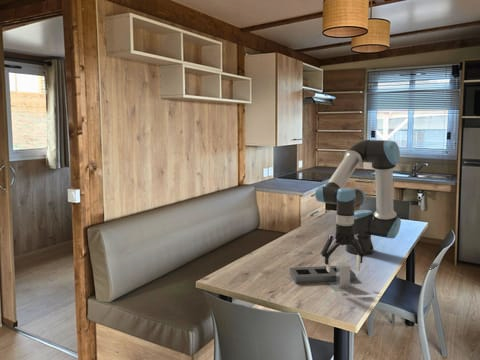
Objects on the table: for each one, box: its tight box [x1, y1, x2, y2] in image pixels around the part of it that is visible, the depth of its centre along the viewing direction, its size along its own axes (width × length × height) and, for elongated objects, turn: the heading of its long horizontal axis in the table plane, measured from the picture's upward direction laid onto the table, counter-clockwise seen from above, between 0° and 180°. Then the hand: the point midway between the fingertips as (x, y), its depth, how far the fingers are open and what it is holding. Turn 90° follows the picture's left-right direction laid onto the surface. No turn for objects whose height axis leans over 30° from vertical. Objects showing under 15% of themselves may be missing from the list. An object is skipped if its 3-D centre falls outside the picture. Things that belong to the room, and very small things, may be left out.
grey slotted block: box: [289, 265, 357, 285], centre depth 194 cm, size 28×12×4 cm, turn 96°
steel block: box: [336, 262, 352, 289], centre depth 183 cm, size 5×5×10 cm
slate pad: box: [327, 282, 358, 292], centre depth 184 cm, size 10×10×1 cm
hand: (343, 270), depth 183 cm, fingers open, 13 cm apart
